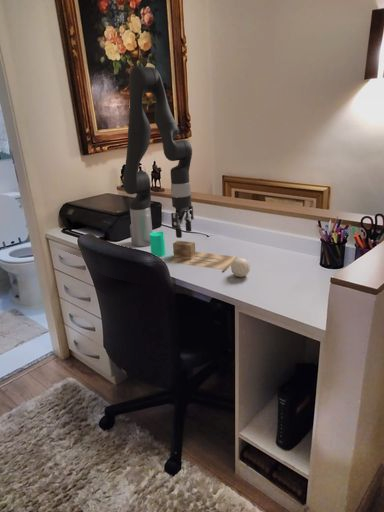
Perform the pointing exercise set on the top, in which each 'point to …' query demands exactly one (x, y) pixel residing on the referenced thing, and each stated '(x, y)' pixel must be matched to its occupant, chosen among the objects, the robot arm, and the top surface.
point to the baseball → (240, 267)
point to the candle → (157, 243)
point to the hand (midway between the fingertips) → (184, 234)
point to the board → (207, 260)
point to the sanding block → (184, 250)
